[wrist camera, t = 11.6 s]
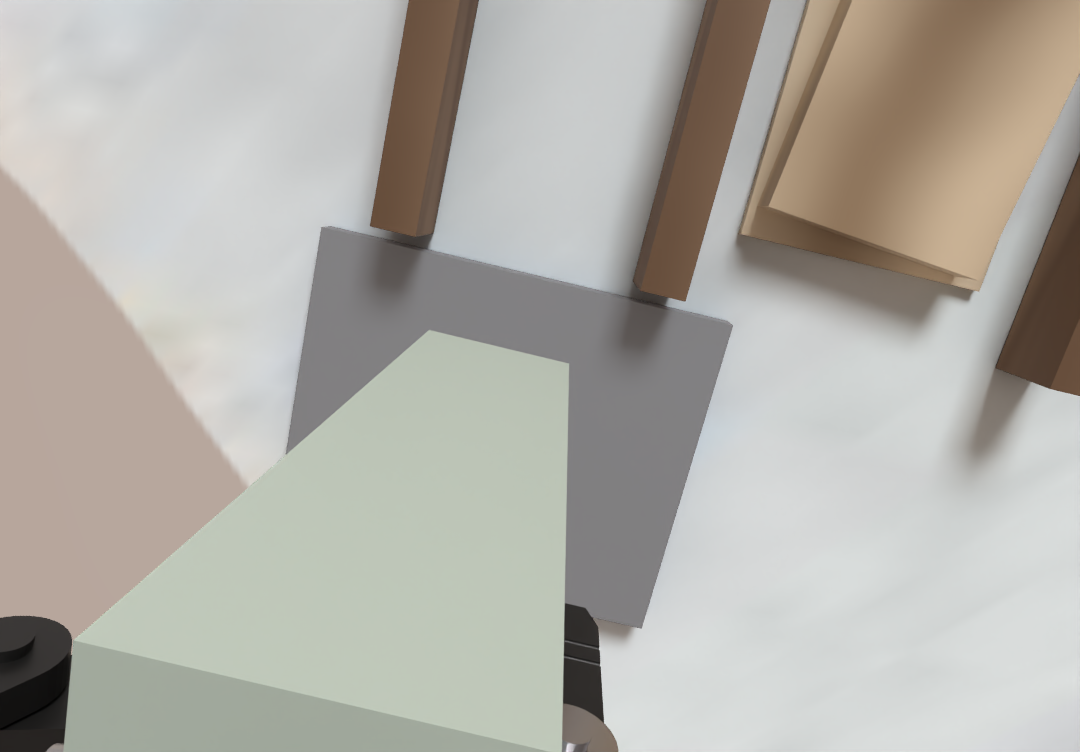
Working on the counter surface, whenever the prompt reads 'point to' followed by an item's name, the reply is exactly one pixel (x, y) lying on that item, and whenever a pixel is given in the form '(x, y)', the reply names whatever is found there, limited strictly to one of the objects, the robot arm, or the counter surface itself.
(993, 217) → the upper offcut
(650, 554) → the rubber mat
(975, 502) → the counter surface
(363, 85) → the counter surface
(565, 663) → the robot arm
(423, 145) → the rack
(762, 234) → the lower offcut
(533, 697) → the pale green block
